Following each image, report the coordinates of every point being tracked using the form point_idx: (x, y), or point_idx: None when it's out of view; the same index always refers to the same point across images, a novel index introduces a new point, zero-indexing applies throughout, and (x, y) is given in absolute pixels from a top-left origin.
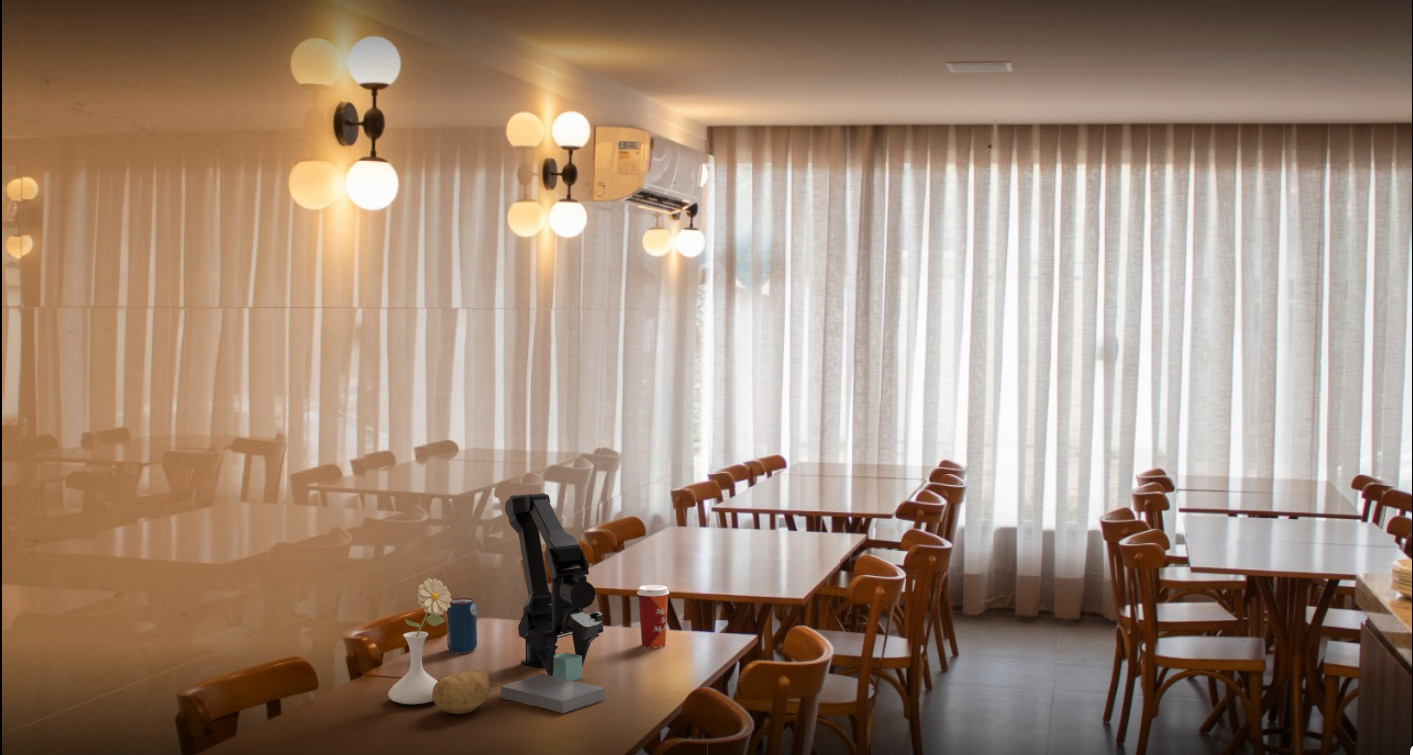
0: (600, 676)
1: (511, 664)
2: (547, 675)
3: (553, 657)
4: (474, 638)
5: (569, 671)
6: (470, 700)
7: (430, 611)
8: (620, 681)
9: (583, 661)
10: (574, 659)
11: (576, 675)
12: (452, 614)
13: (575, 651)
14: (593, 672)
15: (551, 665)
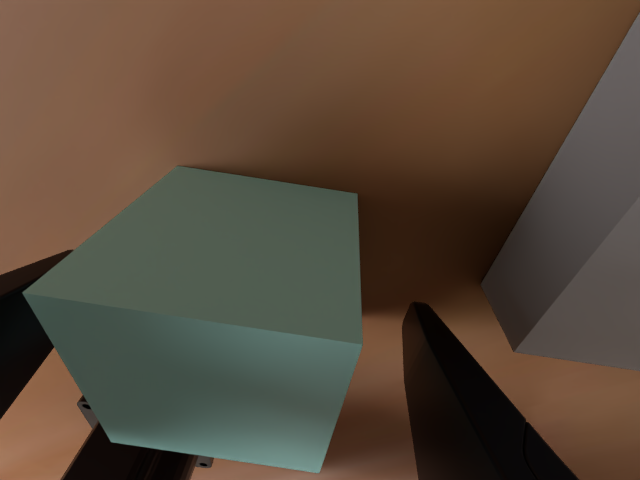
0: (19, 47)
1: (239, 467)
2: (566, 305)
3: (509, 473)
4: None
5: (308, 231)
6: None
7: None
8: None
9: (29, 269)
10: (188, 297)
11: (227, 190)
12: None
13: (6, 402)
14: (19, 178)
15: (482, 379)
